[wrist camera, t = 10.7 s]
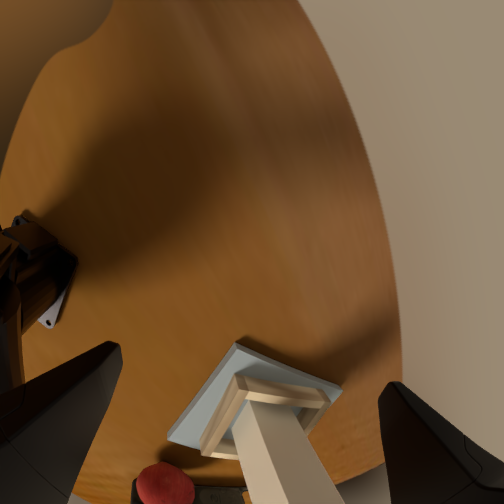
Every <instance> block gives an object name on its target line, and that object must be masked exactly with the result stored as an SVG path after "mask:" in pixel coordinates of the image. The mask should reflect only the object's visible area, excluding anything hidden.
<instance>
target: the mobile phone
mask: <svg viewBox="0 0 504 504" xmlns="http://www.w3.org/2000/svg"><path fill="white" fill-rule="evenodd" d="M136 482H137V479H135V480H134V481H133V482H132V491H131V504H144V503H143V501H142V500H141V499H140V497H139V494H138V491H137V486H136ZM194 491H195V498H194V501H193V503H192V504H245V502H244V499H243V496H242V493H243V492H244V491H248V488H247V487H209V486H194Z"/></svg>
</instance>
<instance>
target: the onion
mask: <svg viewBox="0 0 504 504" xmlns="http://www.w3.org/2000/svg"><path fill="white" fill-rule="evenodd" d="M136 486H137V491H138V494H139V497H140V499H141V500H142V501H143V503H144V504H192V503H193V501H194V498H195V491H194V485H193V482H192V480H191V479H190V478H189V476H188V475H187V474H185V473H184V472H183V471H182V470H180V469H179V468H177V467H175V466H173V465H170V464H169V463H167V462H159V463H157V464H154V465H151V466H149V467H147V468H145V469H143V471H142V472H141V473H140V475H139V476H138V477H137V482H136Z"/></svg>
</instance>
